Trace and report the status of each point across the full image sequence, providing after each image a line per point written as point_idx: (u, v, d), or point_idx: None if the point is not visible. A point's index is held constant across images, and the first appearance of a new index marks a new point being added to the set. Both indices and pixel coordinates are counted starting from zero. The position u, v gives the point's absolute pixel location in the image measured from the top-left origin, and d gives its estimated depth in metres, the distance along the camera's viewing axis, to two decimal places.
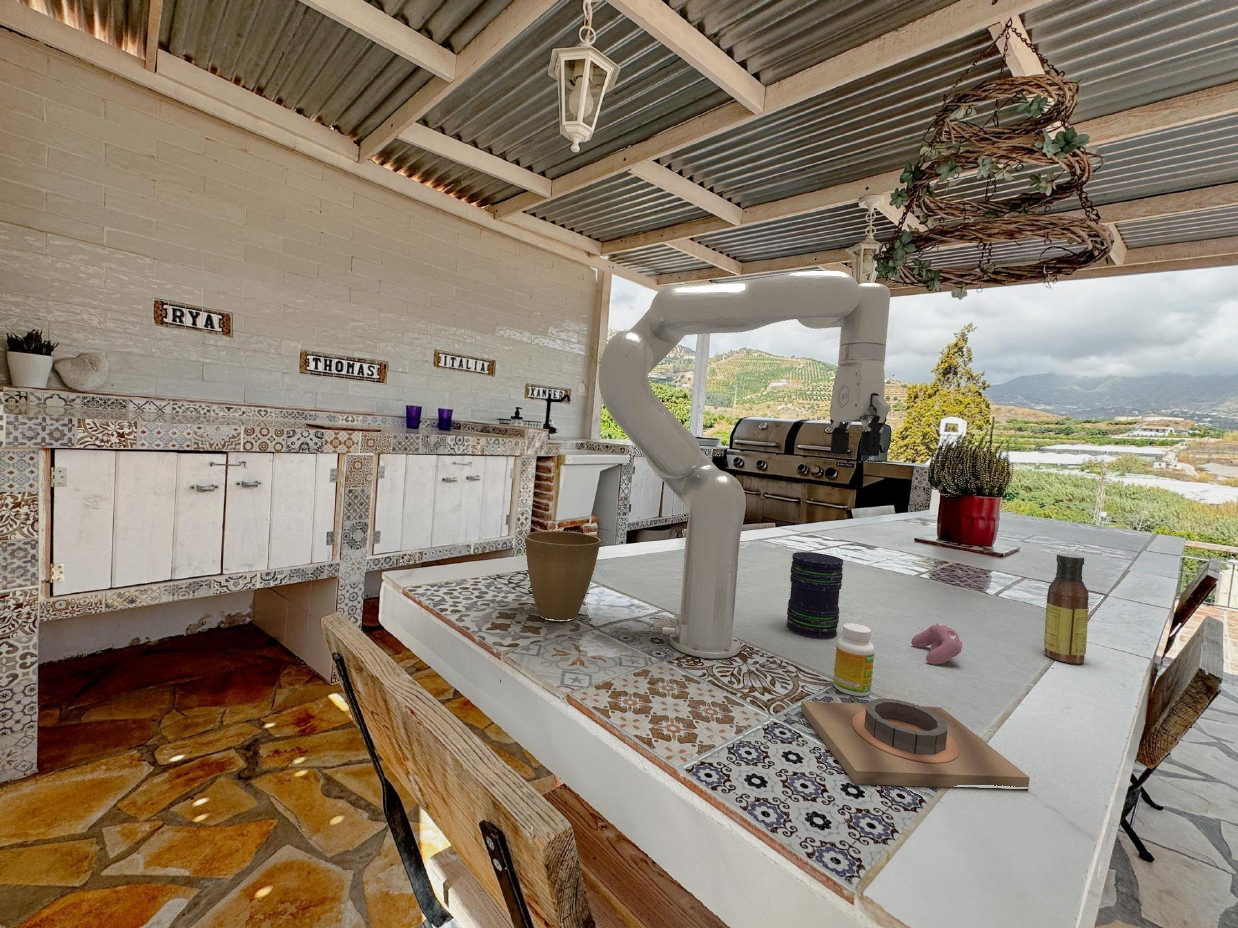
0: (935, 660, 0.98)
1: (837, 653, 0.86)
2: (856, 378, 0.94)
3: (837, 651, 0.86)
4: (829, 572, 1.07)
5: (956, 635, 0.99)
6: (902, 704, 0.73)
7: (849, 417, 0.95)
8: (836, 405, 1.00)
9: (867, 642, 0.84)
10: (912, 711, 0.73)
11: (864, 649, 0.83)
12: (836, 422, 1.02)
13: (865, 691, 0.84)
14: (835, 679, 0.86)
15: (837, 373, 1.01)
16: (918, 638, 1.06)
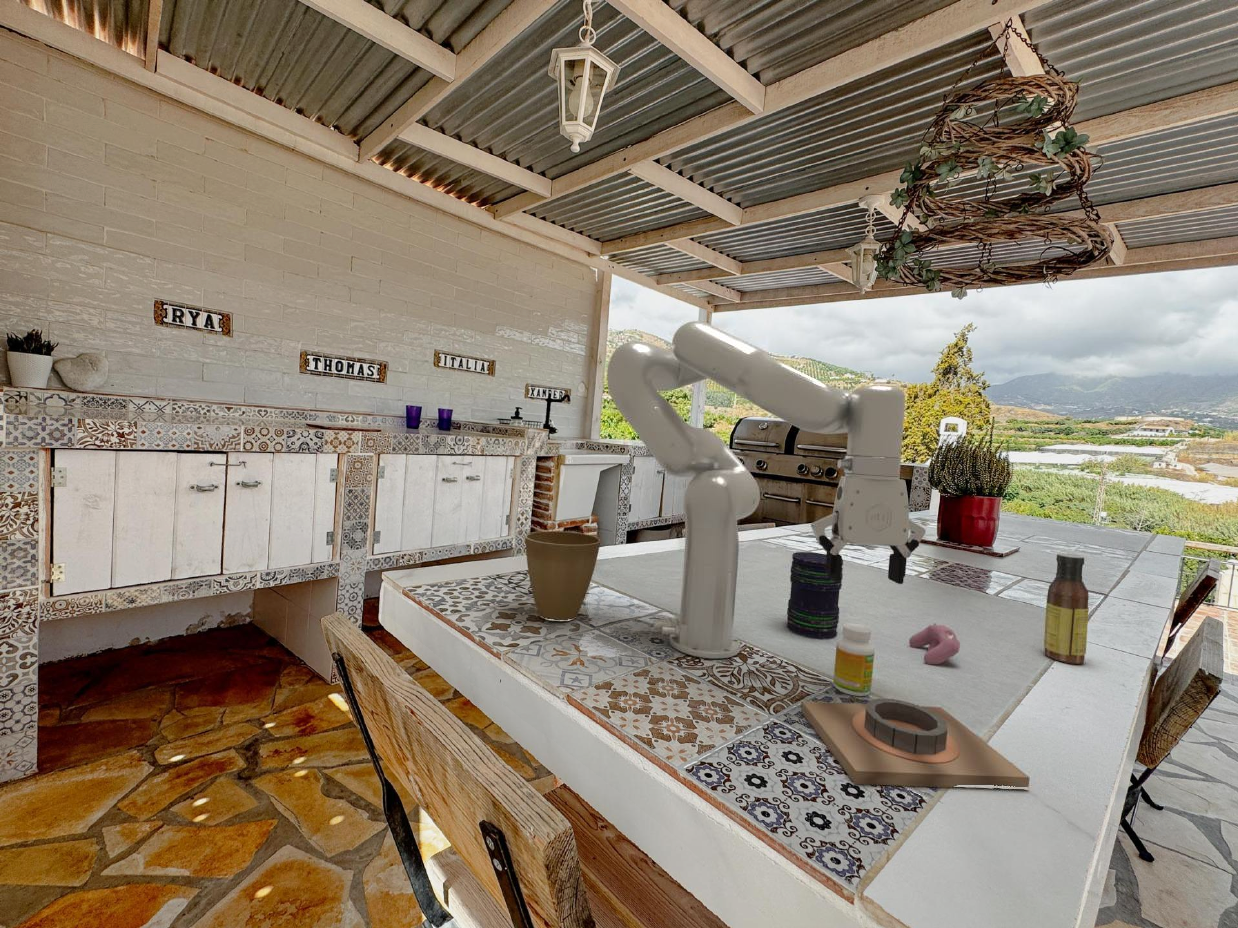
0: (933, 660, 0.98)
1: (837, 653, 0.86)
2: (902, 498, 0.82)
3: (837, 651, 0.86)
4: None
5: (954, 635, 0.99)
6: (902, 704, 0.73)
7: (893, 543, 0.82)
8: (864, 527, 0.82)
9: (867, 642, 0.84)
10: (912, 711, 0.73)
11: (864, 649, 0.83)
12: (843, 544, 0.83)
13: (865, 691, 0.84)
14: (835, 679, 0.86)
15: (858, 486, 0.82)
16: (916, 638, 1.06)
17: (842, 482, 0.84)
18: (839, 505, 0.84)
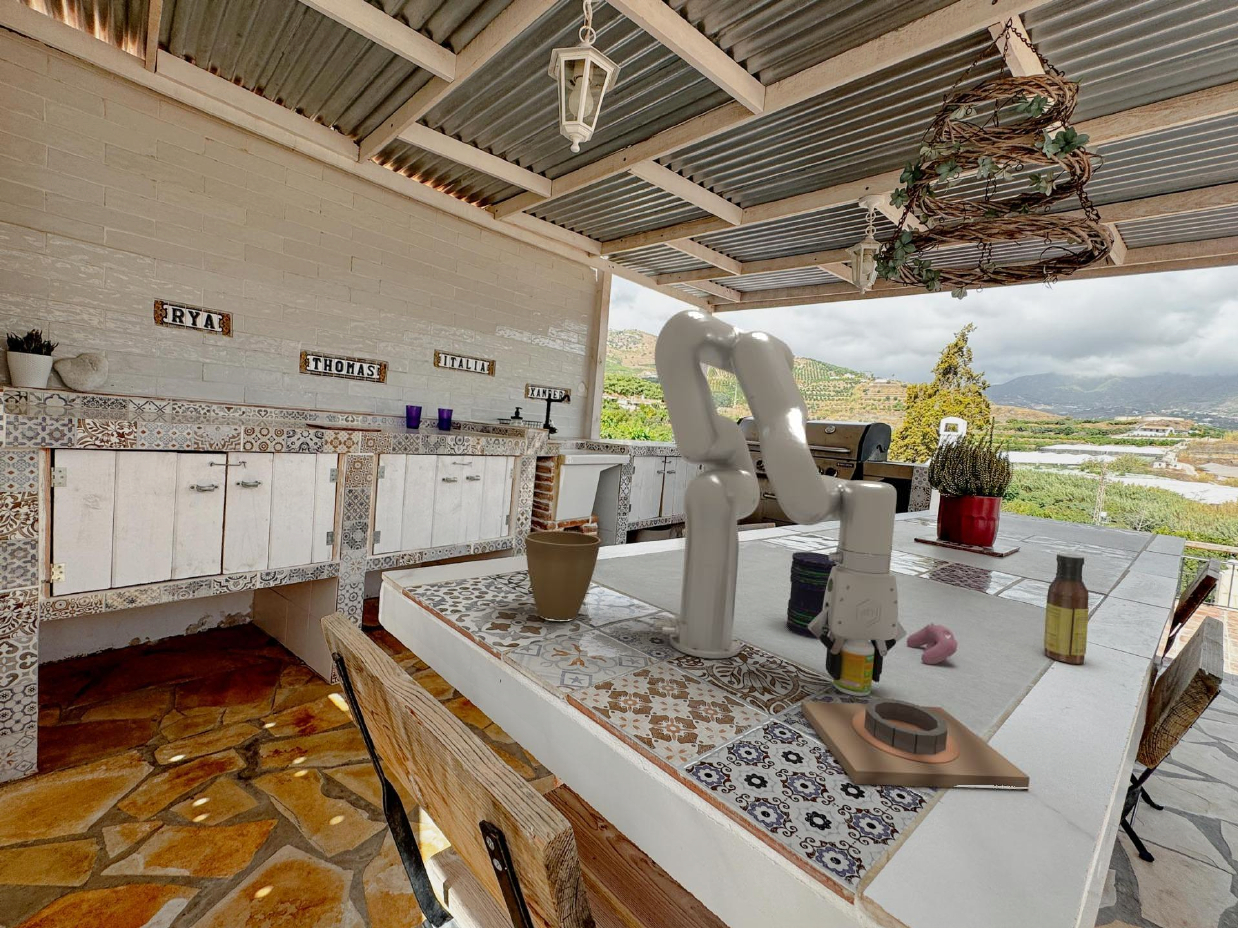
0: (930, 659, 0.98)
1: None
2: (892, 594, 0.83)
3: None
4: (829, 572, 1.07)
5: (951, 634, 0.99)
6: (902, 704, 0.73)
7: (882, 638, 0.83)
8: (853, 621, 0.83)
9: (867, 642, 0.84)
10: (912, 711, 0.73)
11: (864, 649, 0.83)
12: (841, 641, 0.84)
13: (865, 691, 0.84)
14: None
15: (849, 582, 0.82)
16: (913, 638, 1.06)
17: (833, 575, 0.85)
18: (829, 598, 0.84)
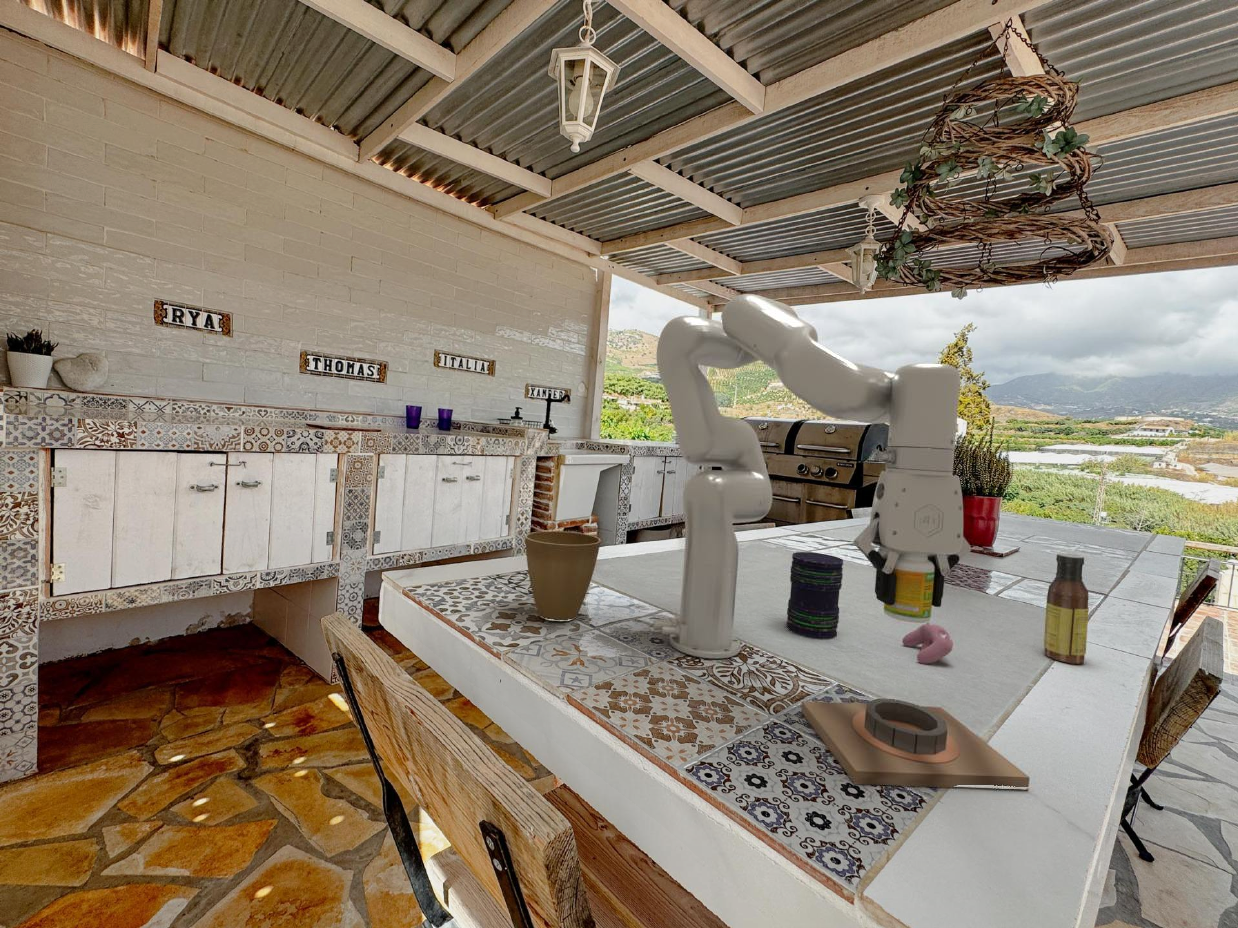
0: (926, 659, 0.98)
1: None
2: (956, 498, 0.69)
3: None
4: (829, 572, 1.07)
5: (947, 634, 0.99)
6: (902, 704, 0.73)
7: (945, 551, 0.69)
8: (911, 532, 0.68)
9: (926, 558, 0.70)
10: (912, 711, 0.73)
11: (923, 565, 0.69)
12: (895, 557, 0.70)
13: (925, 617, 0.69)
14: (887, 605, 0.71)
15: (905, 484, 0.68)
16: (909, 637, 1.06)
17: (884, 478, 0.70)
18: (880, 506, 0.70)
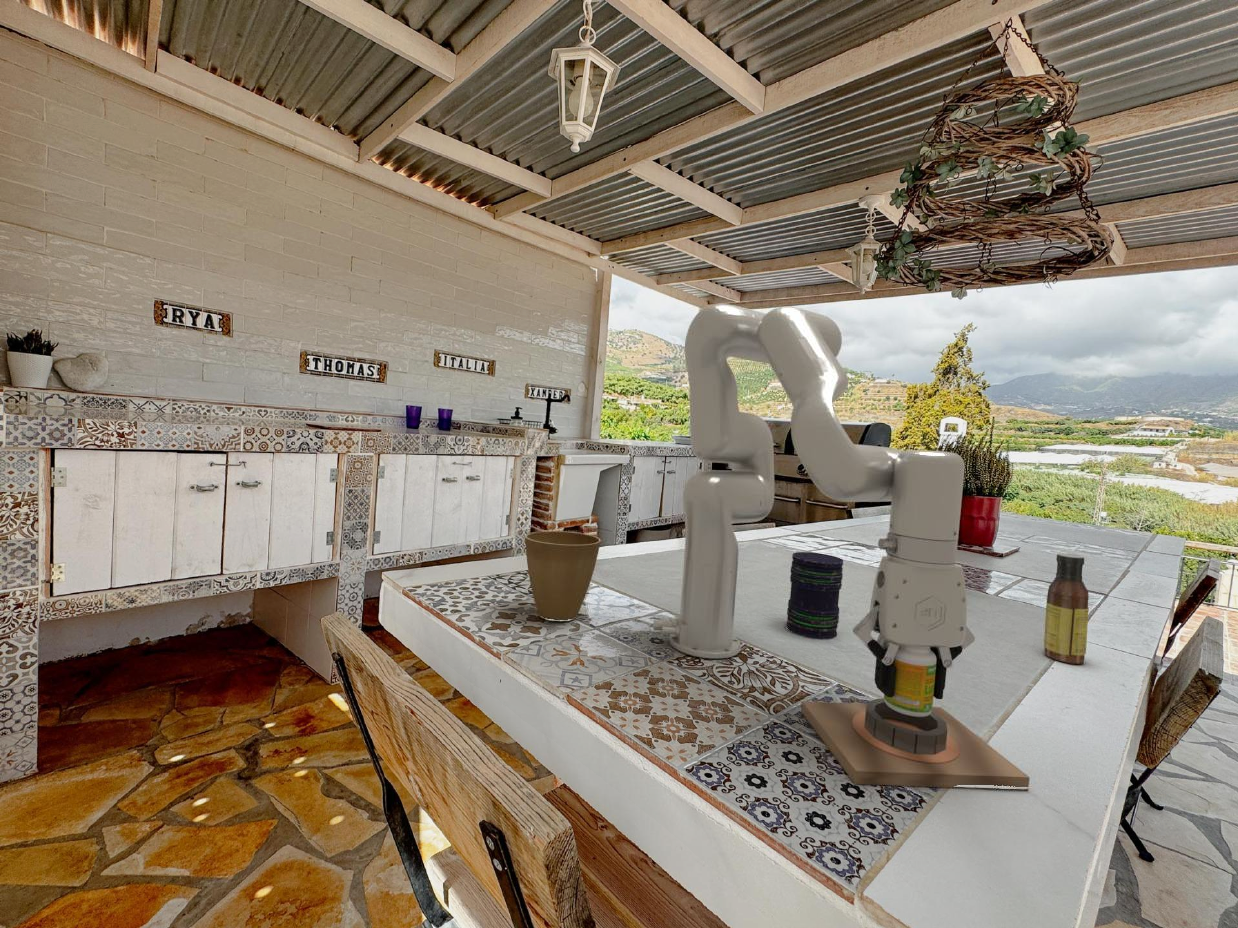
0: None
1: None
2: (959, 590, 0.67)
3: None
4: (829, 572, 1.07)
5: None
6: None
7: (947, 644, 0.67)
8: (911, 624, 0.66)
9: (927, 649, 0.68)
10: None
11: (925, 658, 0.67)
12: (895, 648, 0.68)
13: (926, 711, 0.67)
14: None
15: (906, 575, 0.66)
16: None
17: (884, 566, 0.68)
18: (880, 595, 0.68)
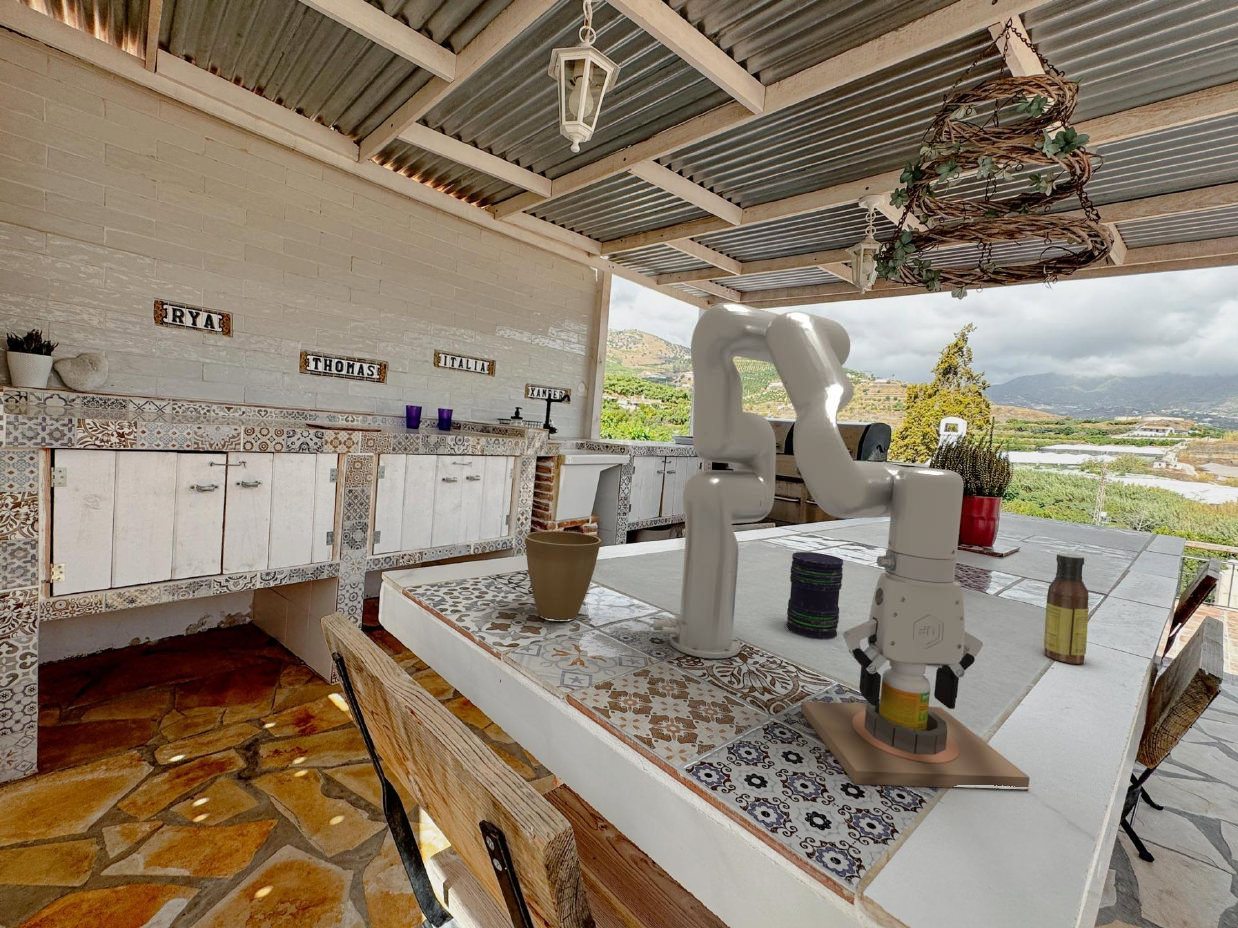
0: None
1: (883, 689, 0.70)
2: (957, 608, 0.67)
3: (883, 687, 0.70)
4: (829, 572, 1.07)
5: None
6: None
7: (945, 662, 0.67)
8: (909, 642, 0.66)
9: (921, 676, 0.68)
10: None
11: (919, 686, 0.67)
12: (883, 660, 0.68)
13: None
14: None
15: (904, 593, 0.66)
16: None
17: (883, 584, 0.68)
18: (878, 612, 0.68)
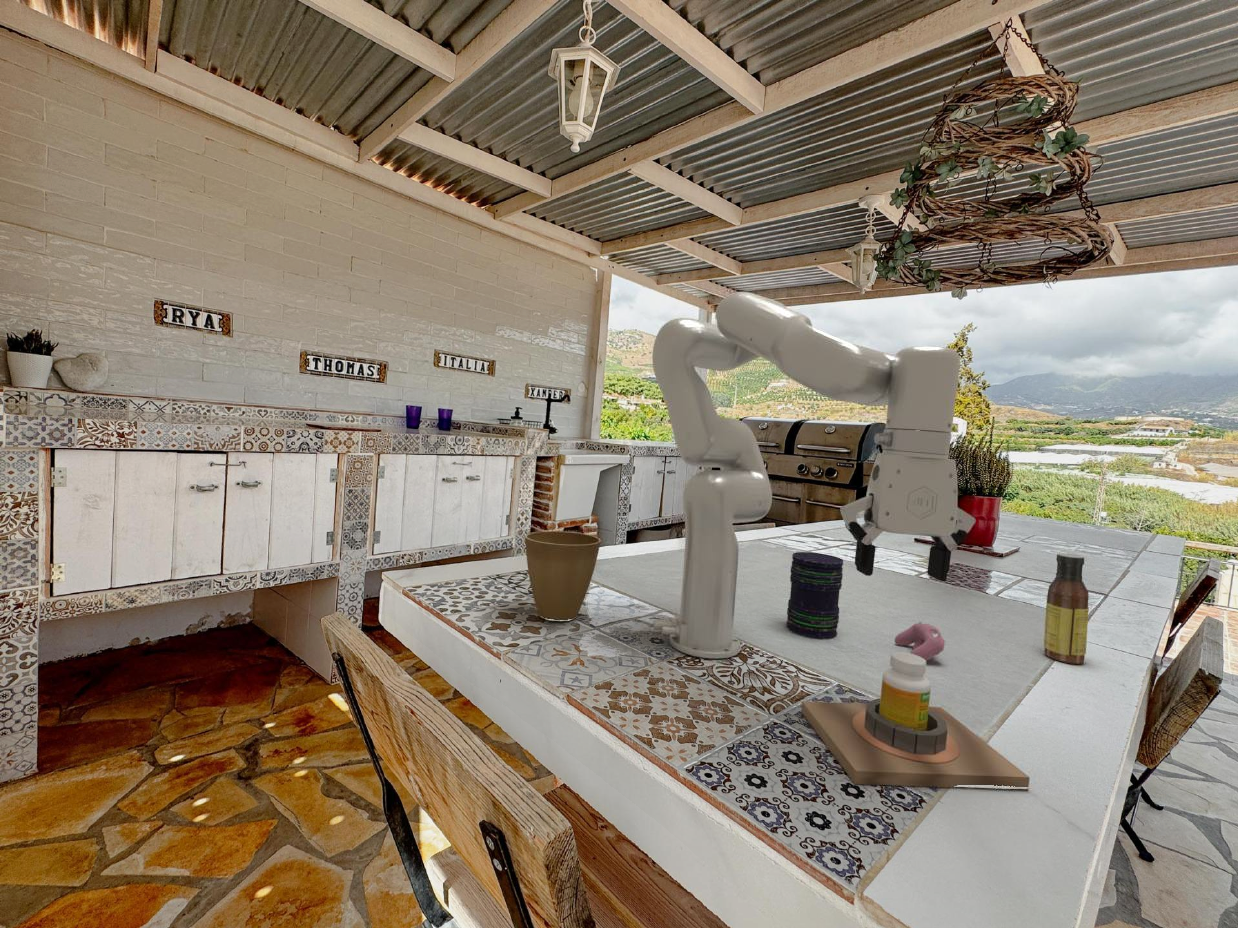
0: None
1: (884, 689, 0.70)
2: (951, 481, 0.69)
3: (884, 686, 0.70)
4: (829, 572, 1.07)
5: (938, 633, 1.00)
6: None
7: (937, 533, 0.70)
8: (903, 513, 0.69)
9: (922, 676, 0.68)
10: None
11: (919, 685, 0.67)
12: (878, 532, 0.71)
13: None
14: None
15: (899, 465, 0.69)
16: (901, 636, 1.06)
17: (879, 460, 0.71)
18: (875, 487, 0.71)
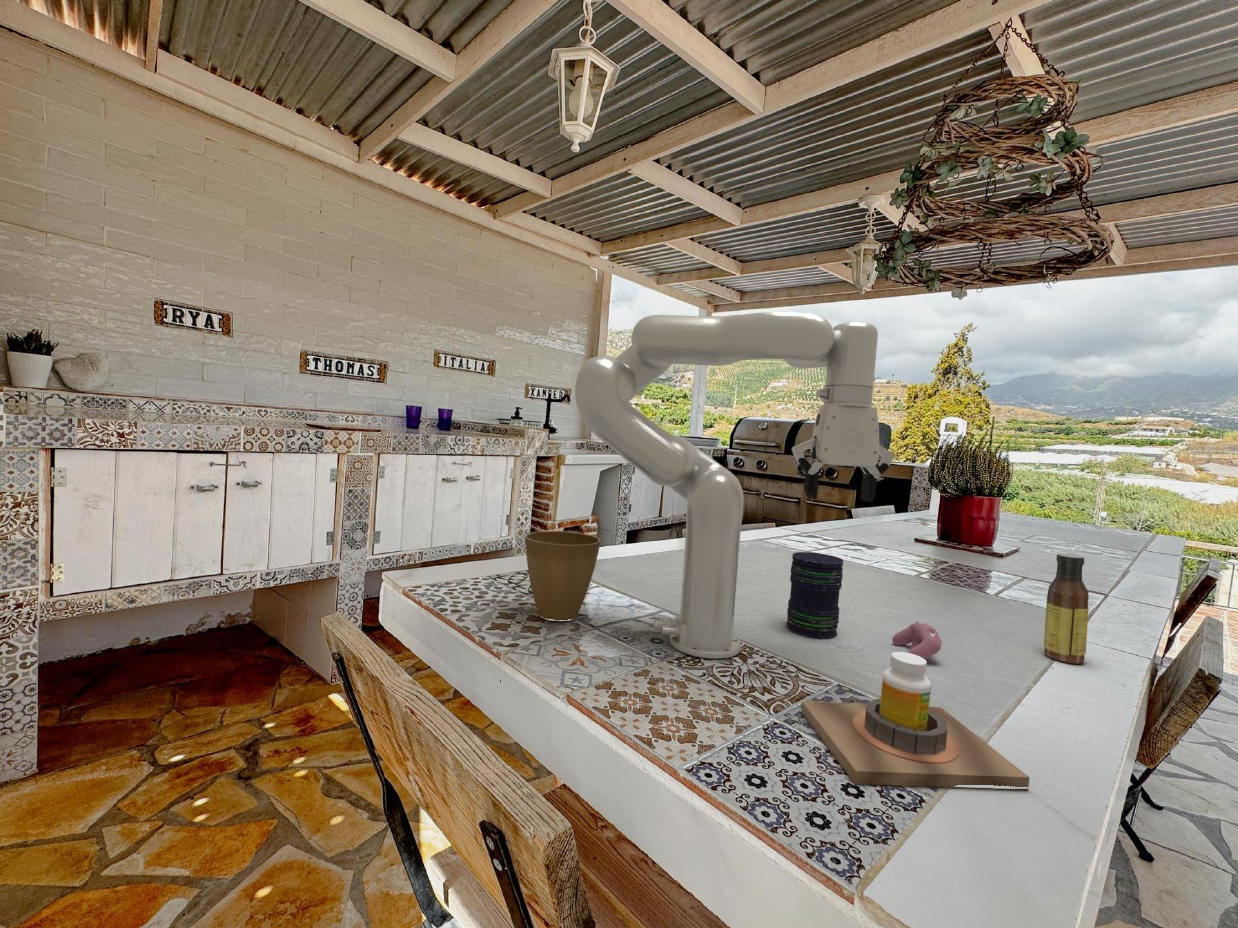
0: None
1: (884, 689, 0.70)
2: (873, 424, 0.91)
3: (884, 686, 0.70)
4: (829, 572, 1.07)
5: (936, 633, 1.00)
6: None
7: (864, 464, 0.92)
8: (838, 448, 0.91)
9: (922, 676, 0.68)
10: None
11: (919, 686, 0.67)
12: (820, 465, 0.93)
13: None
14: None
15: (834, 412, 0.91)
16: (899, 636, 1.06)
17: (820, 410, 0.93)
18: (817, 430, 0.93)
